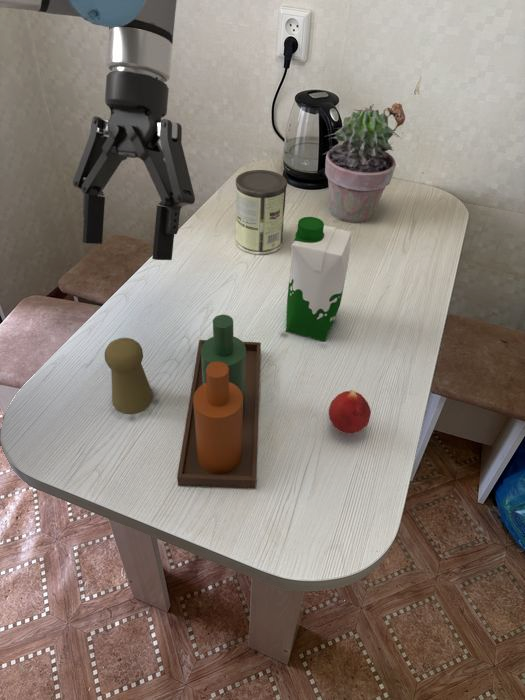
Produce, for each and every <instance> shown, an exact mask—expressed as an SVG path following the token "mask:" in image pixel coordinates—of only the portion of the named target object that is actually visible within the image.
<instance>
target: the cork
mask: <svg viewBox="0 0 525 700" xmlns="http://www.w3.org/2000/svg"><path fill="white" fill-rule="evenodd" d="M143 360H144V351H143V347H142V346H141V345H140V343H139V342H138V341H136V340H135V339H134V338H131V337H119V338H116V339H113V340H112V341H111V342H109V343H108V344H107V346H106V348H105V350H104V361H105V363H106V365H107V367H108V368H109V369H110V370H111V371H110V374H111V375H110V377H111V391H112V392H111V397H112V406H113V407H114V409H115V410H116V411H118V412H119V413H122V414H124V415H135V414H140V413H141V412H143V411H145V410H147V409H148V408H149V407H150V406H151V405H152V403H153V399H154V393H153V390H152V388H151V385H150V383H149V380H148V378H147V375H146V371H145V369H144V367H143V364H142V363H143Z"/></svg>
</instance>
